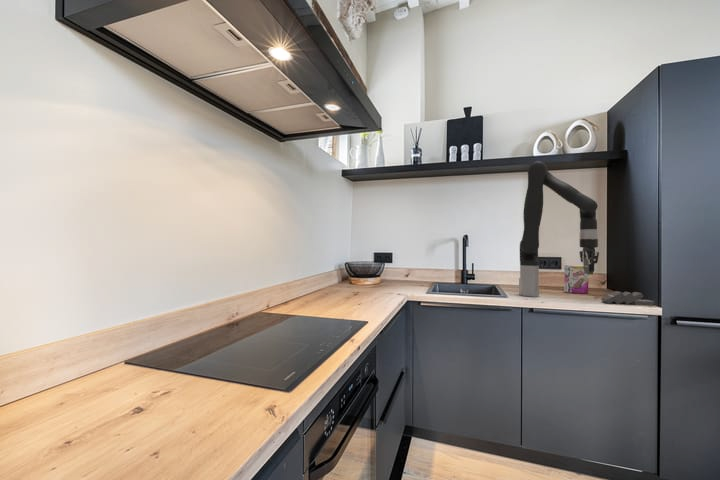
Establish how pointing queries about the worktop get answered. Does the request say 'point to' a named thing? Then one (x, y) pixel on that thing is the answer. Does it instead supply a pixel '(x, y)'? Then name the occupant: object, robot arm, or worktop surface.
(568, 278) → the candy bar box
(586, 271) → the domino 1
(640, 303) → the domino
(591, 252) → the robot arm
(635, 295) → the domino
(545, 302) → the worktop surface
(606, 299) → the domino
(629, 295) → the dark grey bumpy bar
